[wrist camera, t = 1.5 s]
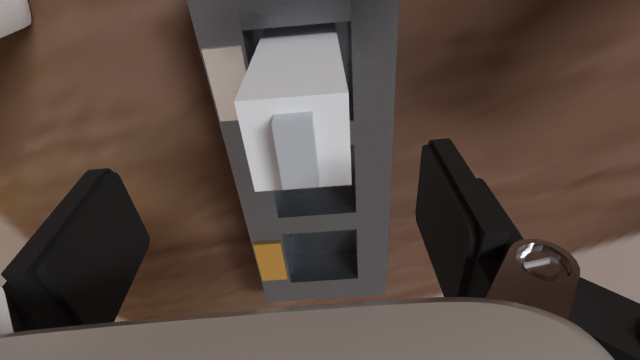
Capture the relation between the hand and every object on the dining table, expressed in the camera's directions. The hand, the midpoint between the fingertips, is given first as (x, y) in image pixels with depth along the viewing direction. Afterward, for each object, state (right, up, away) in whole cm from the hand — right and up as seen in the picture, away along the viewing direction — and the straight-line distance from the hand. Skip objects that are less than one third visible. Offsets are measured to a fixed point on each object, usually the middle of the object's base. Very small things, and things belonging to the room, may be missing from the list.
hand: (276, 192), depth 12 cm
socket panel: (+1, +2, +15) cm, 15 cm away
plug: (0, +8, +10) cm, 13 cm away
